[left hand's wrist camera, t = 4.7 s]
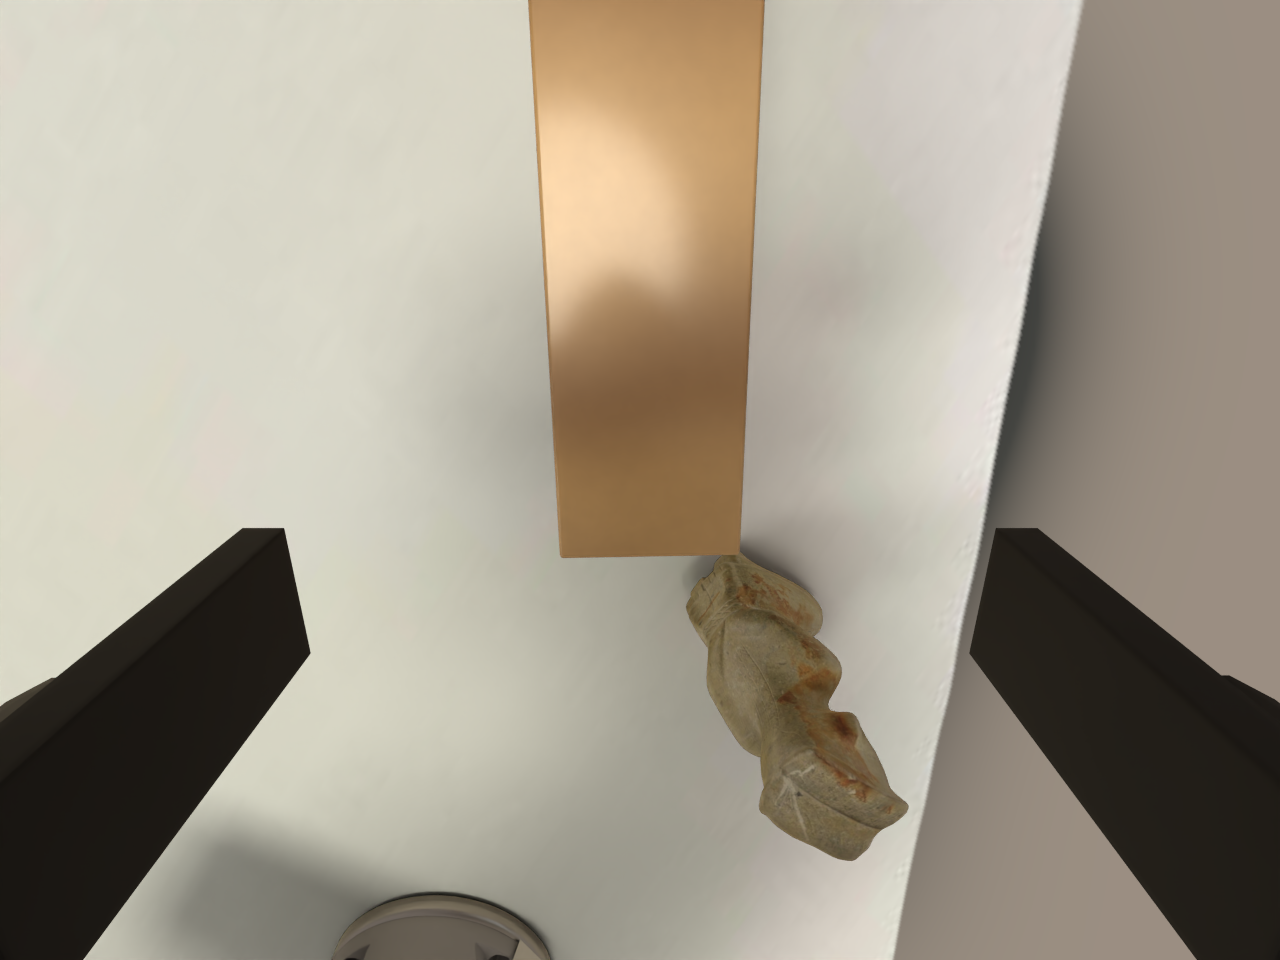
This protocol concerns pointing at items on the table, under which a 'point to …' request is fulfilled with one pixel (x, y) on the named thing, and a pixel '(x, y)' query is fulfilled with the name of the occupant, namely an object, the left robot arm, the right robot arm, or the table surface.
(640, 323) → the bar
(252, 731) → the left robot arm
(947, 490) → the table surface
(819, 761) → the sculpture
